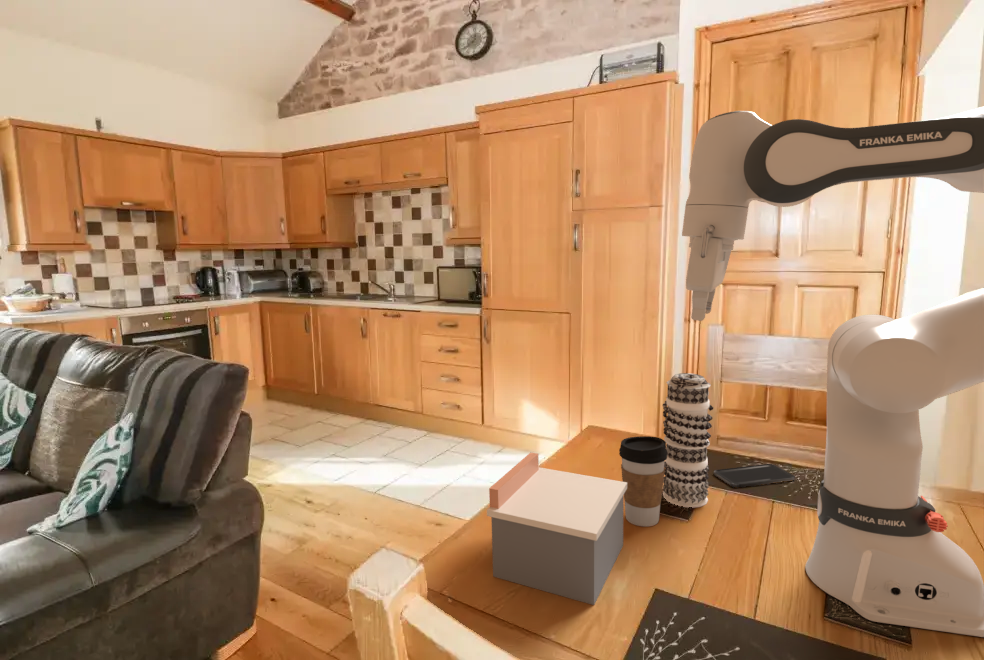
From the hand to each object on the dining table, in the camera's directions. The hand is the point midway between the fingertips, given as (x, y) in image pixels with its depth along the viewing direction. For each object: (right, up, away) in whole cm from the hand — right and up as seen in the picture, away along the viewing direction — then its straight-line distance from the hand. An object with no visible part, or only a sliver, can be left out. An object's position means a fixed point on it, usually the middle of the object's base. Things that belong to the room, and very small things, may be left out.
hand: (701, 316), depth 83 cm
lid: (-22, -29, +1) cm, 37 cm away
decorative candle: (+6, -36, +23) cm, 43 cm away
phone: (+24, -35, +32) cm, 53 cm away
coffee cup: (-5, -37, +15) cm, 41 cm away
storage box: (-22, -39, +3) cm, 45 cm away
